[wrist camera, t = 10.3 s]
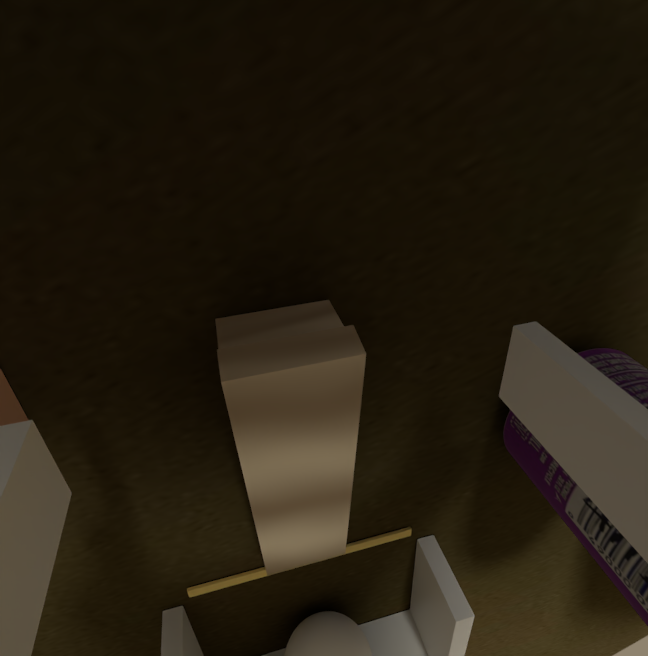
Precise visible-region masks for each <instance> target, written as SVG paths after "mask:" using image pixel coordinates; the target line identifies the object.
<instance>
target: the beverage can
mask: <svg viewBox="0 0 648 656" xmlns="http://www.w3.org/2000/svg"><path fill="white" fill-rule="evenodd" d="M577 354H578V355H580V356H581V357H582V358H583V359H585V360H586V361H587V362H588V363H590V364H591V365H592V366H594V367H595V368H596V369H597V370H599V371H600V372H601V373H602V374H604V375H605V376H606V377H608V378H609V379H610V380H611V381H613V382H614V383H615V384H616V385H618V386H619V387H620V388H621V389H623V390H624V391H625V392H627V393H628V394H629V395H630V396H632V397H633V398H634V399H635V400H637V401H638V402H639V403H641V404H642V405H643V406H644V407H648V369H647V368H645V367H644V366H642V365H641V364H639V363H638V362H637V361H635V360H634V359H632V358H631V357H629V356H628V355H627V354H625V353H624V352H621V351H619V350H616V349H611V348H596V349H590V350H586V351H582V352H579V353H577ZM503 438H504V444H505V447H506V449H507V450H508V452H509V453H510V454H511V456H512V457H513V458H514V459H515V461H516V462H517V463H518V464H519V466H520V467H521V468H522V469H523V471H524V472H525V473H526V474H527V476H528V477H529V478H530V479H531V481H532V482H533V483H534V484H535V486H536V487H537V488H538V489H539V491H540V492H541V493H542V494H543V496H544V497H545V498H546V499H547V501H548V502H549V503H550V504H551V506H552V507H553V508H554V509H555V511H556V512H557V513H558V514H559V516H560V517H561V518H562V519H563V521H564V522H565V523H566V525H567V526H568V527H569V528H570V530H571V531H572V532H573V533H574V535H575V536H576V537H577V538H578V540H579V541H580V542H581V543H582V545H583V546H584V547H585V548H586V550H587V551H588V552H589V553H590V555H591V556H592V557H593V558H594V560H595V561H596V562H597V563H598V565H599V566H600V567H601V568H602V570H603V571H604V572H605V573H606V575H607V576H608V577H609V578H610V580H611V581H612V582H613V583H614V585H615V586H616V587H617V588H618V590H619V591H620V592H621V593H622V595H623V596H624V597H625V598H626V600H627V601H628V602H629V603H630V605H631V606H632V607H633V608H634V610H635V611H636V612H637V613H638V615H639V616H640V617H641V618H642V620H643V621H644V622H645V623H646V625H647V626H648V563H647V562H646V561H645V560H644V559H643V558H642V556H641V555H640V554H639V553H638V552H637V551H636V550H635V549H634V547H633V546H632V545H631V544H630V543H629V542H628V541H627V540H626V539H625V537H624V536H623V535H622V534H621V533H620V532H619V531H618V530H617V528H616V527H615V526H614V525H613V524H612V523H611V522H610V521H609V519H608V518H607V517H606V516H605V515H604V514H603V513H602V512H601V511H600V509H599V508H598V507H597V506H596V505H595V504H594V503H593V502H592V500H591V499H590V498H589V497H588V496H587V495H586V494H585V493H584V491H583V490H582V489H581V488H580V487H579V486H578V485H577V484H576V483H575V481H574V480H573V479H572V478H571V477H570V476H569V475H568V474H567V472H566V471H565V470H564V469H563V468H562V467H561V466H560V465H559V463H558V462H557V461H556V460H555V459H554V458H553V457H552V456H551V455H550V453H549V452H548V451H547V450H546V449H545V448H544V447H543V446H542V444H541V443H540V442H539V441H538V440H537V439H536V438H535V437H534V435H533V434H532V433H531V432H530V431H529V430H528V429H527V428H526V427H525V425H524V424H523V423H522V422H521V421H520V420H519V419H518V418H517V416H516V415H515V414H514V413H513V412H512V411H511V410H510V411H509V413H508V416H507V418H506V421H505V425H504V431H503Z"/></svg>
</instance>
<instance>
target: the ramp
mask: <svg viewBox="0 0 648 656" xmlns="http://www.w3.org/2000/svg"><path fill="white" fill-rule="evenodd" d="M215 322H216V331H217V340H218V349H217V356H218V363H219V371H220V378H221V384H222V388H223V392H224V397H225V401H226V405H227V409H228V413H229V418H230V422H231V426H232V430H233V434H234V439H235V443H236V447H237V451H238V455H239V459H240V464H241V468H242V472H243V476H244V480H245V485H246V489H247V493H248V497H249V501H250V506H251V510H252V514H253V518H254V522H255V526H256V531H257V535H258V539H259V543H260V547H261V552H262V556H263V560H264V564H265V568H266V572H267V576H268V575H272V574H275V573H279V572H282V571H286V570H290V569H293V568H297V567H300V566H304V565H307V564H311V563H315V562H318V561H322V560H325V559H329V558H332V557H336V556H340V555H343V554H345V552H346V543H347V533H348V524H349V514H350V505H351V495H352V485H353V476H354V466H355V457H356V447H357V438H358V428H359V419H360V409H361V400H362V390H363V381H364V371H365V362H366V352H365V350H364V347H363V345H362V343H361V341H360V338H359V336H358V334H357V332H356V330H355V327H354V325H349V326H344V325H343V324H342V322H341V320H340V318H339V316H338V315H337V313H336V311H335V309H334V308H333V306H332V304H331V302H330V301H329V300H324V301H318V302H312V303H306V304H300V305H294V306H288V307H282V308H276V309H270V310H264V311H258V312H252V313H247V314H241V315H235V316H229V317H223V318H217V319H215Z"/></svg>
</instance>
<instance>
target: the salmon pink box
mask: <svg viewBox="0 0 648 656" xmlns="http://www.w3.org/2000/svg"><path fill="white" fill-rule="evenodd" d="M23 421H28V418H27V416H26V414H25V413H24V411H23V409H22V407H21V405H20V403H19V401H18V400H17V398H16V396H15V394H14V392H13V390H12V389H11V387H10V385H9V383H8V381H7V379H6V377H5V376H4V374H3V372H2V370H1V368H0V426H3V425H8V424H13V423H18V422H23Z"/></svg>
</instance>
